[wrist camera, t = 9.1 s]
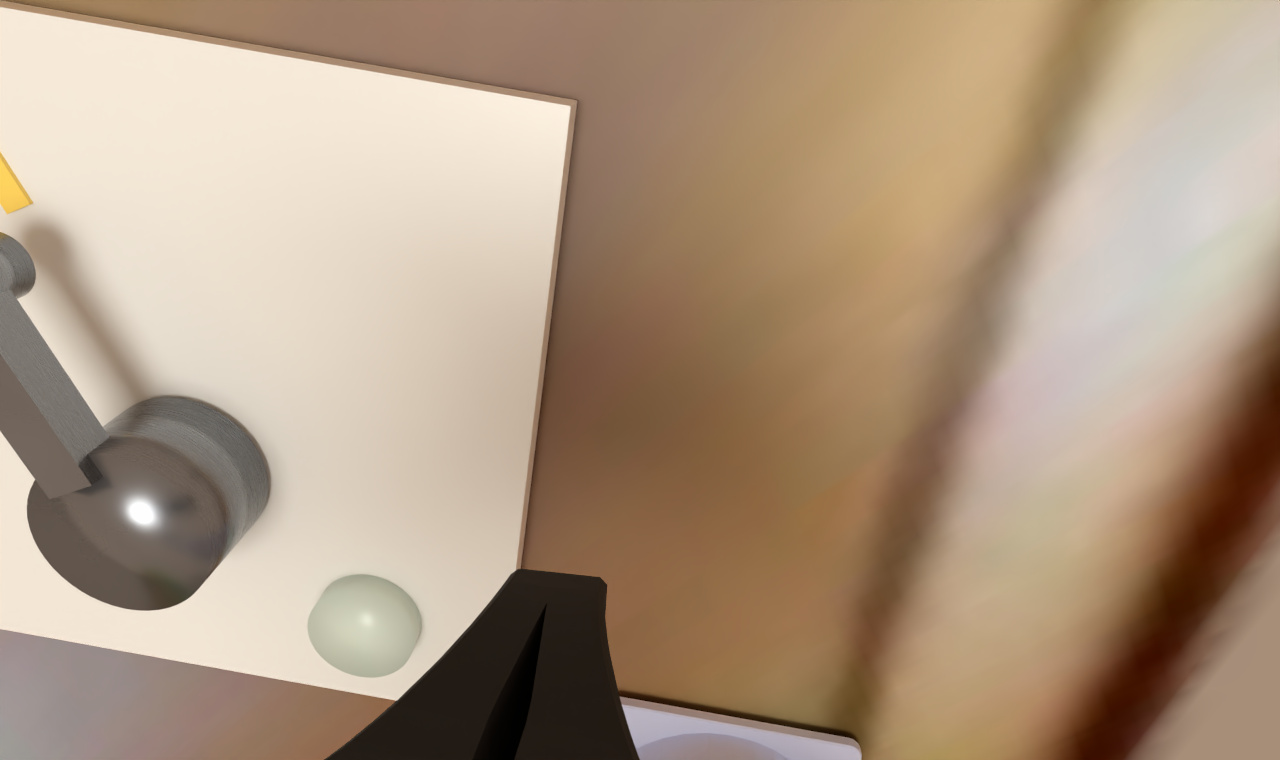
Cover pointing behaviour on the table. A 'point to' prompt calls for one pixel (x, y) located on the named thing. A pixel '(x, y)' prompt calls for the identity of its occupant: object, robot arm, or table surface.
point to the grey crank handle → (120, 472)
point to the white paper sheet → (290, 326)
